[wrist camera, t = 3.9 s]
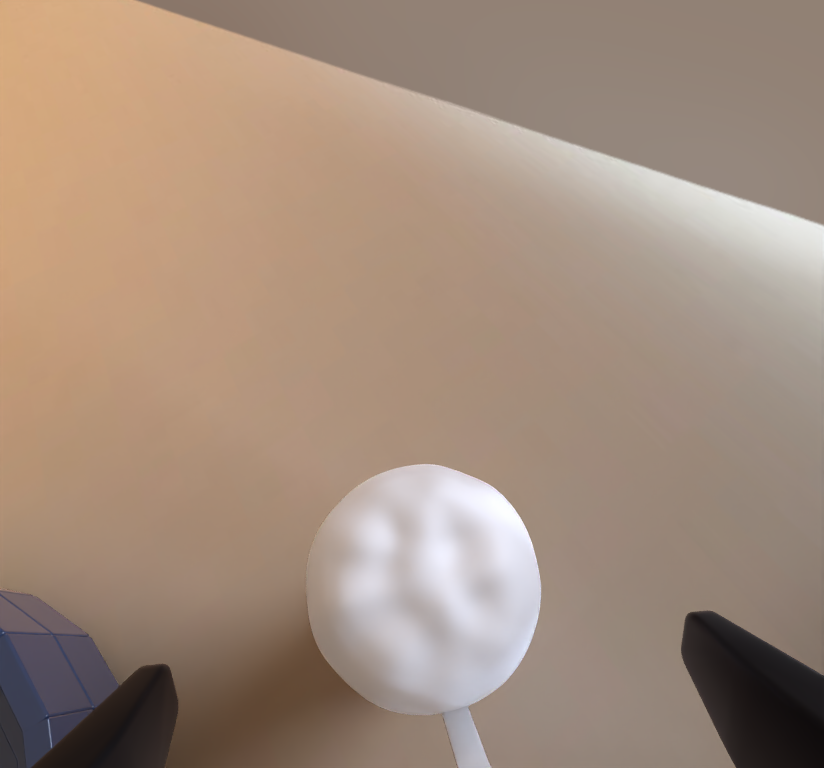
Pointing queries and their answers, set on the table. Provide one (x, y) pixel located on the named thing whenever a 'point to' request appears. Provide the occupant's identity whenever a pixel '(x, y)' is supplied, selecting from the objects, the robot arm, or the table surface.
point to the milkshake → (424, 595)
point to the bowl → (44, 678)
